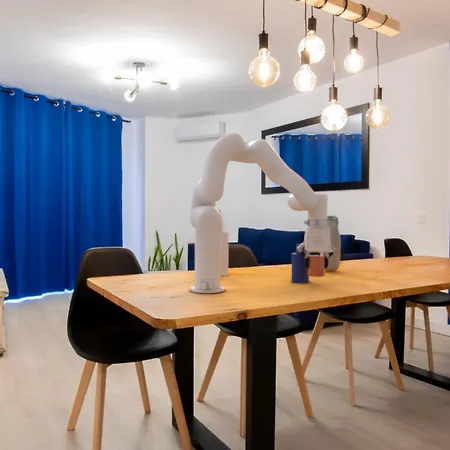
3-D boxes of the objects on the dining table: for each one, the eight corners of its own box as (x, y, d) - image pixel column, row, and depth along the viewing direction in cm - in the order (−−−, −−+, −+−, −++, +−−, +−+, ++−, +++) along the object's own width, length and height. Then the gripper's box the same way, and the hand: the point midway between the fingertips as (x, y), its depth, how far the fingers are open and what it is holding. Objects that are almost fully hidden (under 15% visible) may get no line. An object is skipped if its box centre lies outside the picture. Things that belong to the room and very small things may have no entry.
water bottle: (310, 283, 181) (310, 244, 181) (293, 283, 181) (293, 244, 181) (306, 280, 189) (307, 243, 188) (290, 280, 188) (290, 243, 188)
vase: (230, 275, 204) (230, 232, 203) (215, 275, 201) (215, 232, 201) (222, 272, 214) (222, 231, 214) (208, 272, 212) (208, 231, 212)
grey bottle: (319, 272, 216) (319, 215, 215) (321, 269, 226) (321, 215, 225) (339, 273, 213) (340, 215, 212) (340, 270, 223) (341, 215, 222)
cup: (326, 276, 173) (326, 256, 172) (309, 276, 172) (310, 256, 172) (322, 274, 179) (322, 255, 179) (305, 274, 179) (306, 254, 179)
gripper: (297, 223, 171) (296, 268, 172) (341, 224, 172) (340, 269, 172) (294, 223, 179) (292, 266, 179) (336, 224, 179) (334, 267, 180)
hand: (316, 267), depth 176 cm, fingers closed on cup, 6 cm apart
